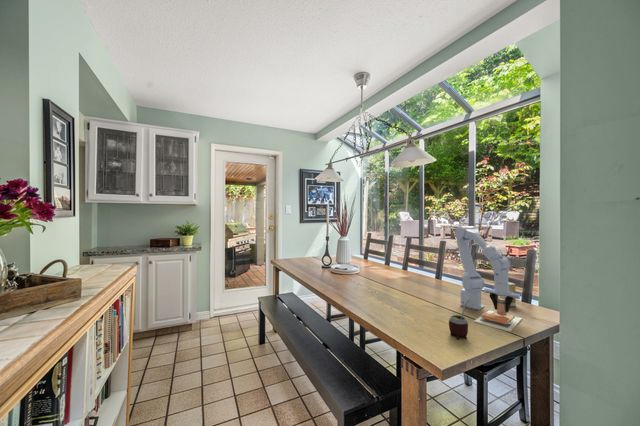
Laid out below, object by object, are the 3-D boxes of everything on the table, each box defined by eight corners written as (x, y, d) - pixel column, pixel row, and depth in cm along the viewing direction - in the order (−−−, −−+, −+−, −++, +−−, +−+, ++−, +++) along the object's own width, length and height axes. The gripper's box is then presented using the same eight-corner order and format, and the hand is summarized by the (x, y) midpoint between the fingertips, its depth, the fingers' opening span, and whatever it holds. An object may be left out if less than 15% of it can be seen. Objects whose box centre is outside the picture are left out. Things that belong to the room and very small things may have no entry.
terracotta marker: (495, 313, 129) (495, 299, 129) (498, 312, 132) (498, 297, 132) (505, 316, 126) (505, 301, 126) (508, 314, 129) (507, 299, 129)
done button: (481, 317, 125) (481, 314, 125) (484, 315, 127) (484, 312, 127) (506, 324, 117) (506, 321, 117) (509, 321, 120) (509, 318, 120)
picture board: (474, 322, 124) (474, 320, 124) (488, 311, 137) (488, 310, 137) (510, 332, 114) (510, 330, 114) (522, 319, 127) (522, 317, 127)
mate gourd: (448, 337, 109) (447, 301, 109) (450, 330, 116) (450, 296, 116) (468, 342, 105) (468, 304, 105) (470, 334, 112) (469, 299, 112)
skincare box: (507, 307, 143) (507, 284, 143) (499, 304, 147) (499, 282, 147) (516, 305, 145) (516, 283, 145) (508, 303, 149) (508, 281, 149)
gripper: (481, 281, 132) (482, 308, 132) (517, 287, 121) (517, 317, 121) (486, 278, 136) (486, 305, 136) (521, 284, 125) (521, 313, 125)
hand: (501, 310), depth 129 cm, fingers closed on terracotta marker, 4 cm apart
